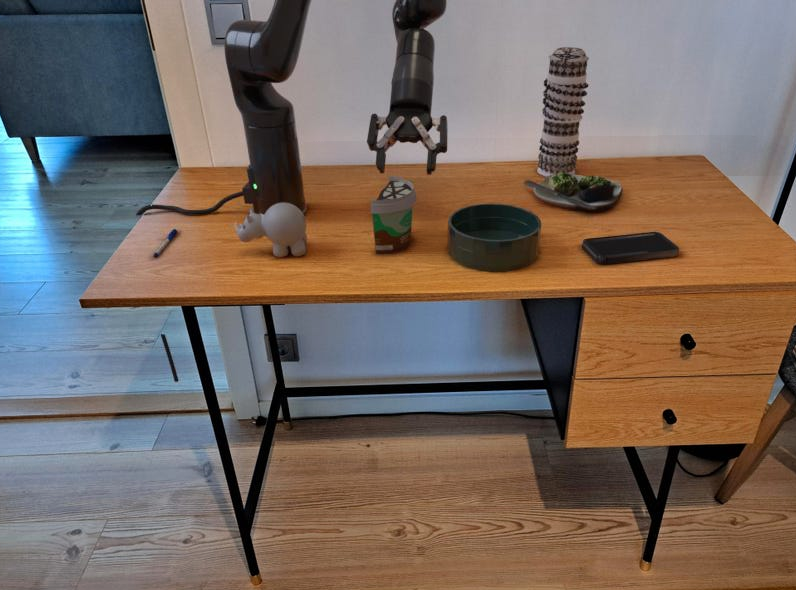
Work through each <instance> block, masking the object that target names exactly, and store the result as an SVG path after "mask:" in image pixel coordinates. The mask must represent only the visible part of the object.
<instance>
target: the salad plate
mask: <svg viewBox="0 0 796 590" xmlns="http://www.w3.org/2000/svg"><path fill="white" fill-rule="evenodd" d="M523 184H524V186H526V187H528V188H530V189H531V190H532V191H533V195H534V196H535V197H537V198H538V199H539V200H541V201H542V202H543V203H546V204H548V205H550V206H554V207H559V208H564V209H568V210H573V211H576V212H584V213H601V212H602V213H603V212H606V211H608V210H610V209H612V207H614V206H615V205H616V204H617V202H618V200H619V199H620V197H621V195H622V193H623V190H624V189H623V186H622V184H621V183H619V182H618V181H616V180H613V179H609V178H605V177H603V176H602V177H601V176H599V175H596V176H594V175H589V176H586V175H580V174H576V173H575V174H568V173H563V172H561V173H558V174H552V175H549V176H547V177H546V176H545V177H544V178H543V179H542V180H541V182H540V183H537V182H535V181H532V180H530V179H528V180H524V181H523Z"/></svg>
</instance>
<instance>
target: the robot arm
mask: <svg viewBox="0 0 796 590" xmlns="http://www.w3.org/2000/svg"><path fill="white" fill-rule="evenodd" d="M311 3H312V0H274V1H273V4H272V5H273V6H272V9H271V11H270V14H269V17H268V18H267V20H266V21H265V20H264V21H263V20H252V19H238V20H235V21H234V22H232V23H231V24H230V25H229V27H228V28H227V30H226V33H225V36H224V43H223V44H224V46H223V47H224V56H225V57H224V58H225V63H226V69H227V74H228V77H229V82H230V86H231V90H232V96H233V100H234V103H235V106H236V108H237V110H238V112H239V113H240V116H241V119H242V123H243V124H242V125H243V131H244V137H245V141H246V142H245V143H246V148H247V155H248V161H249V164H248V165H247V167H246V173H247V181H248V182H247V183H245V185H244V186H243V187H242V188H241V191H237V192H235V193H232V194H229V195H226V196H225V197H223V198H221V199H220V200H219V201H218V202H217V203H216V204H215V205H214V206H212V207H209V208H205V209H187V208H182V207H180V206H177V205H176V206H175V205H165V204H147V205H144V206H142V207H141V208H139V209H138V211H137V212H136V213H135V216H142V215H143V214H144V213H145V212H148V211H150V210H151V211H152V210H161V211H173V212H178V213H180V214H183V215H196V216H197V215H208V214H211V213H214V212H217V211H218V210H219V209H221V208H222V207H223V205H225V204H226V203H228V202H229V201H232V200H235V199H237V198H241V197H243V201H244V204H245V205H252V209H253V211H254V212H255V214H259V215H262V216H263V215H265V213H266V212H267V210H268V209H269V208H270V207H271V206H273V205H275V204H277V203H289V204H292V205H294V206H296V207H297V208H299V209H300V210H301V212H302V213H303V215H305V214H306V212H307V211H308V208H307V207H308V206H307V203H306V196H305V186H304V179H303V170H302V164H301V163H302V161H301V154H300V146H299V138H298V131H297V122H296V115H295V109H294V105H293V103H292V102H291V101H290V100H289V99H287V98H286V97H284V96H283V95H282V94H281V93H279V92H278V91H277V89H276V88H275V87H274V86H273V84H281V83H284V82H287V81H288V80H289V78H291V76H292V75H293V74H294V71H295V69H296V67H297V63H298V60H299V57H300V53H301V49H302V45H303V39H304V34H305V29H306V24H307V20H308V15H309V11H310V8H311ZM446 11H447V0H395V1H394V4H393V7H392V13H391V18H392V24H393V29H394V36H395V40H396V51H395V52H396V53H395V61H394V62H395V63H394V68H393V73H392V77H391V90H390V100H389V110H388V114H387V116H378V114H377V113H372V114H371V115H370V120H369V126H368V133H367V138H366V143H367V145H368V149H369V151H371V152H373V151H375V152H376V156H375V166H376V169H377V170H378V171H379V173H380V174H385V170H386V159H387V151H388V150H389V149H390V148H392V147H394V146H395V144H396V143H397V142H399V143H401V144H404V143H412V144H418V142H421V144H422V145H423V147H424V148H425V149H426V150H427V160H426V175H428V176H432V174H433V172H435V171H436V170H437V169H436V167H437V157H438V155H439V154H441V153H442V154H446V153H447V152H448V132H449V131H448V129H449V128H448V127H449V126H448V118H447V115H445V114H443V115H441V116H440V118H438V117H437V118H433V117H432V107H433V95H434V80H435V74H434V73H435V72H434V67H435V53H436V51H435V50H436V42H435V38H434V35H432V34H431V32H430V31H428V30H426V28H427V27H429V26H430V25H432V24H433V23H435V22H436V21H438V20H439V19H440V18H442V17H443V16H444V15H445V13H446ZM385 125H386V127H387V128H388V129H386V131H385V132H384V134H383V135H382V137H381V138H380V139H379V140H378V137H379V136H378V135H379V131H381V130H382V129H383V127H384V126H385ZM433 127H434V128H435V129H436V131H437V132H438V133H439V142H437V143H435V142H434V141H433V139H432V137H431V135H430V133H429V132H430V131H431V129H432V128H433ZM151 205H152V206H151ZM160 338H161V341H162V344H163V347H164V350H165V354H166V357H167V360H168V363H169V366H170V370H171V374H172V377H173V381H174V383H179V380H180V379H179V377H178V372H177V369H176V367H175V362H174V359H173V356H172V353H171V349H170V346H169V343H168V339H167V337H166V334H165V333H164V334H163V333H160Z"/></svg>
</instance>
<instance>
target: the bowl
mask: <svg viewBox="0 0 796 590" xmlns="http://www.w3.org/2000/svg"><path fill="white" fill-rule="evenodd" d="M541 232H542V220H541V218H540V217H539V216H538V214H535V213H534V212H532V211H531V210H529V209H526V208H524V207H521V206H517V205H512V204H506V203H494V202H493V203H489V202H488V203H477V204H476V203H475V204H472V205H467V206H464V207H461V208H458V209H457V210H455V211H453V212H452V213H451V214H450V215H449V216H448V219H447V250H448V254H449V257H451V259H452V260H453V261H455V262H456V263H457V264H459V265H461V266H464V267H467V268H470V269H472V270H477V271H484V272H497V273H498V272H509V271H515V270H519V269H522V268H525V267H527V266H528V265H529V266H530V264H532V263H533V262H534V261H535V260H536V258H537V257H538V253H539V250H540V243H541Z"/></svg>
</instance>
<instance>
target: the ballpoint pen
mask: <svg viewBox="0 0 796 590" xmlns="http://www.w3.org/2000/svg"><path fill="white" fill-rule="evenodd" d="M177 234H178V230H177V229H176V228H173V229H172V230H171V231H170V232H169V233H168V235H167V237H166V238H165V240H164V241H163V242H162V244H161V245H160V246H159V247H158V248H157V249H156V250H155V252H154V253H153V256H152V257H153V258H156V257H158V256H159V255H160V254H161V252H162V251H163V250H164V249H165V247H166V246H167V245H168V244H169V243H170V242H171V241H172V239H173V238H174V237H175V236H176V235H177Z"/></svg>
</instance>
